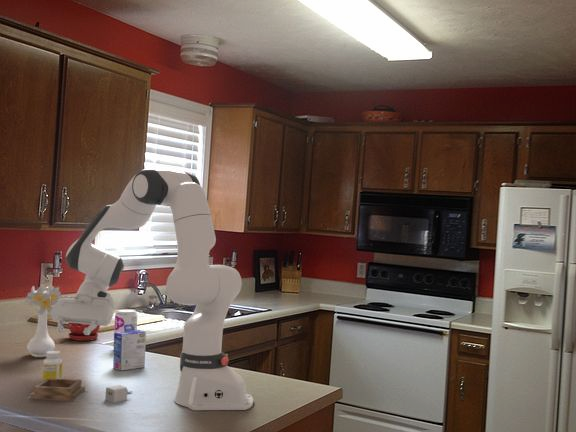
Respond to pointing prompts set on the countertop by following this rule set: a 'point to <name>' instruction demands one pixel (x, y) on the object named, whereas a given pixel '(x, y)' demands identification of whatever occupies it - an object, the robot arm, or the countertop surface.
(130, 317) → the supplement can
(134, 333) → the ink cartridge box
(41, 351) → the flower vase
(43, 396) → the wooden tray
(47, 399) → the mat
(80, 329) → the plant pot
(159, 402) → the countertop surface
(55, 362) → the supplement bottle
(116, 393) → the usb wall charger
